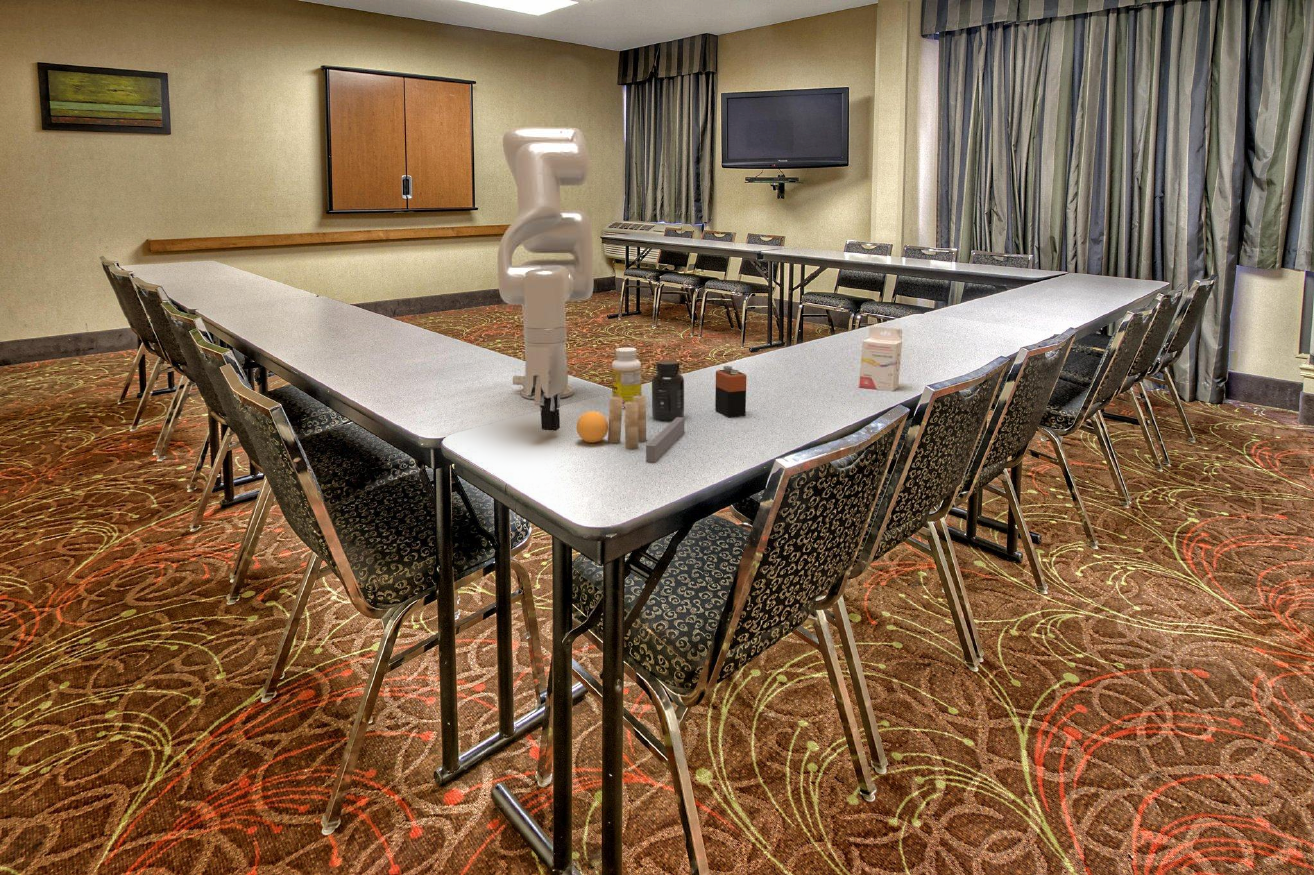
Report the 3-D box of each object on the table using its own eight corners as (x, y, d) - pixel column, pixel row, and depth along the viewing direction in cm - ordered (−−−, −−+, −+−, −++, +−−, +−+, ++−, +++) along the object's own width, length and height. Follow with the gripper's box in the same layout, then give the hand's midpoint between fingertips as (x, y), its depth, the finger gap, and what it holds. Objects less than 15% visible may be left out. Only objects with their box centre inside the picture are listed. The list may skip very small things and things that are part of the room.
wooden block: (606, 442, 149) (608, 399, 146) (610, 438, 151) (612, 396, 149) (617, 444, 148) (620, 400, 146) (622, 440, 151) (624, 397, 148)
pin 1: (623, 448, 145) (622, 404, 143) (627, 445, 148) (627, 401, 145) (635, 449, 145) (635, 405, 142) (640, 446, 147) (639, 402, 145)
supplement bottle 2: (645, 418, 166) (645, 363, 162) (663, 412, 171) (663, 357, 168) (672, 423, 162) (672, 366, 159) (690, 416, 168) (690, 361, 164)
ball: (603, 429, 144) (587, 452, 147) (619, 422, 150) (603, 445, 152) (580, 407, 146) (565, 431, 148) (597, 402, 151) (582, 424, 154)
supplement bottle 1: (612, 402, 180) (610, 346, 177) (640, 401, 181) (640, 346, 177) (612, 409, 174) (611, 352, 170) (642, 408, 174) (641, 351, 171)
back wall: (646, 461, 138) (646, 445, 137) (676, 431, 156) (676, 417, 155) (654, 462, 137) (654, 446, 137) (684, 432, 156) (684, 417, 155)
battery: (732, 408, 174) (733, 364, 171) (746, 416, 167) (747, 370, 165) (714, 410, 172) (714, 366, 169) (728, 418, 166) (729, 372, 163)
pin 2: (632, 441, 150) (631, 398, 148) (636, 437, 152) (635, 395, 150) (644, 442, 149) (643, 398, 147) (648, 438, 152) (647, 396, 149)
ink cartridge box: (858, 387, 193) (862, 328, 189) (864, 384, 197) (868, 325, 193) (892, 391, 188) (897, 330, 184) (898, 387, 192) (903, 328, 188)
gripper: (545, 329, 156) (549, 418, 161) (510, 341, 142) (515, 438, 147) (580, 330, 154) (583, 421, 159) (547, 343, 140) (552, 441, 145)
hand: (550, 429), depth 153 cm, fingers closed
